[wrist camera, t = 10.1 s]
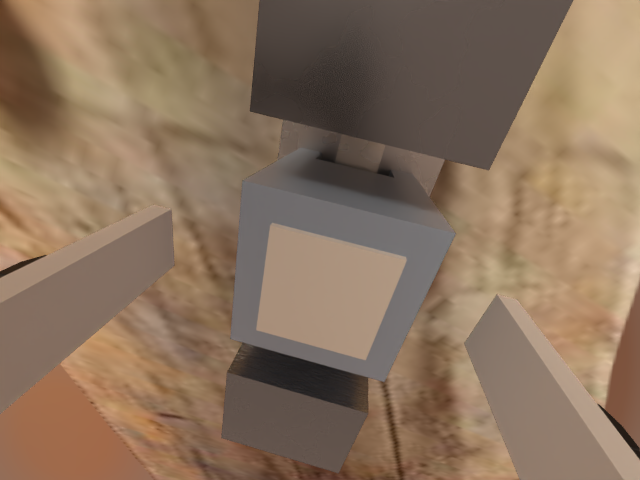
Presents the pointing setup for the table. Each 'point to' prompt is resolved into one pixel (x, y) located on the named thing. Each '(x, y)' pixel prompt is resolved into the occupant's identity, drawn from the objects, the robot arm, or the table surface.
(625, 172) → the table surface
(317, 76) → the grey block holder
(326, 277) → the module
